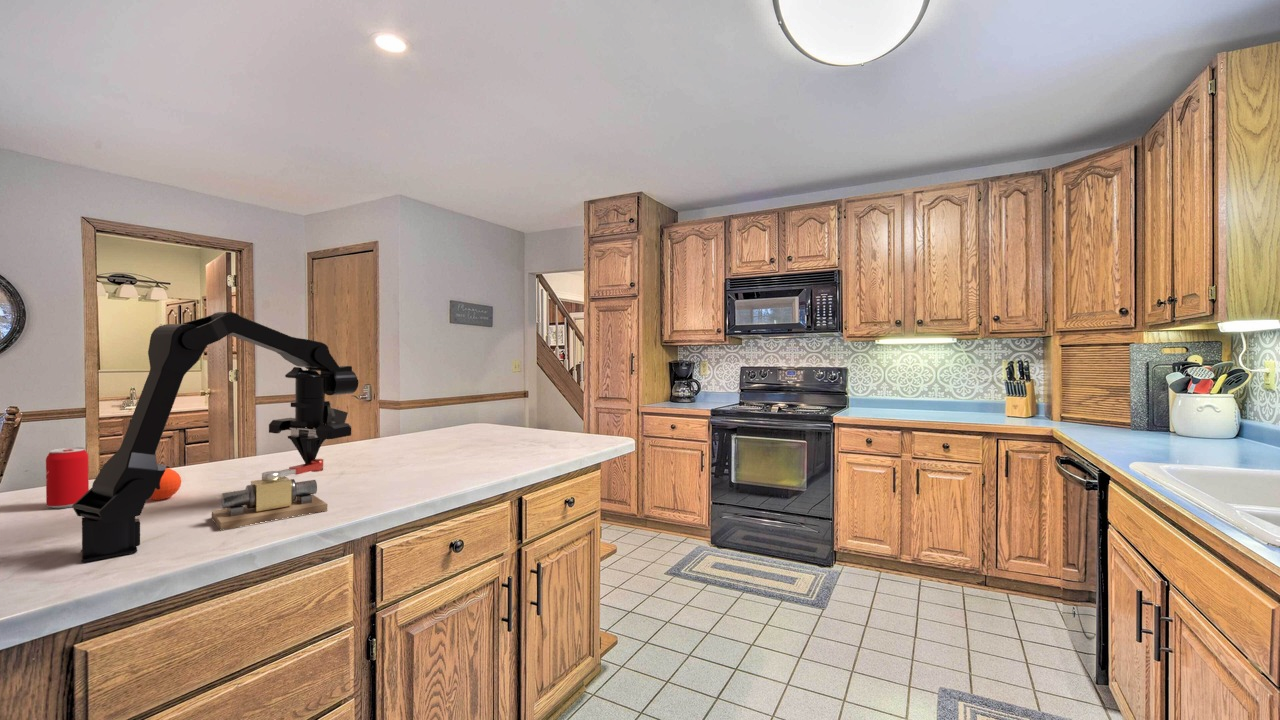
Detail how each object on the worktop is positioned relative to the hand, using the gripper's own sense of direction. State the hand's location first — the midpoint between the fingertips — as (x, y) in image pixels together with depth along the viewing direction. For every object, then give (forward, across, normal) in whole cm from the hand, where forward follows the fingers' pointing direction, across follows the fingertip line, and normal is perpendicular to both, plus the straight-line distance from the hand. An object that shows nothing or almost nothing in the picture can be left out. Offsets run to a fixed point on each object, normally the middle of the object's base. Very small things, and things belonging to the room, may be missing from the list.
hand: (309, 465), depth 122 cm
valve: (+6, -3, +11) cm, 13 cm away
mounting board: (+8, -3, +11) cm, 14 cm away
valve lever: (+1, -2, +6) cm, 6 cm away
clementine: (+8, +30, +13) cm, 33 cm away
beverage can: (+8, +42, +22) cm, 48 cm away
